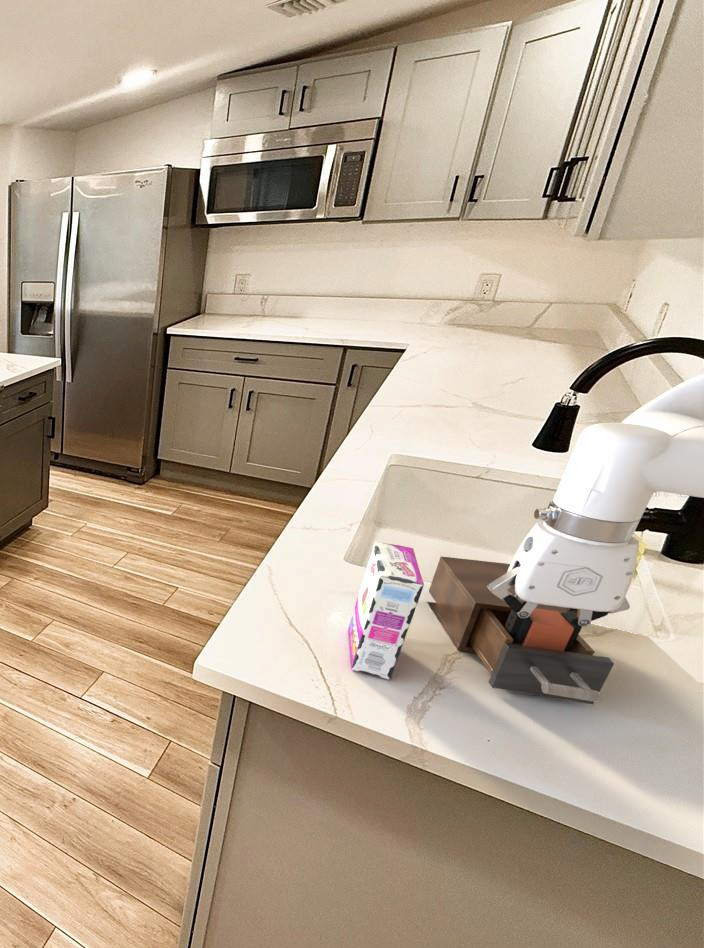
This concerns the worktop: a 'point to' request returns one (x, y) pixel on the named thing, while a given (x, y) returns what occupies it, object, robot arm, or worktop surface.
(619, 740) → the worktop surface
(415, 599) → the candy bar box
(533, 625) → the block
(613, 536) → the robot arm
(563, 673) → the drawer
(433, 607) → the cabinet
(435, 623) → the worktop surface
